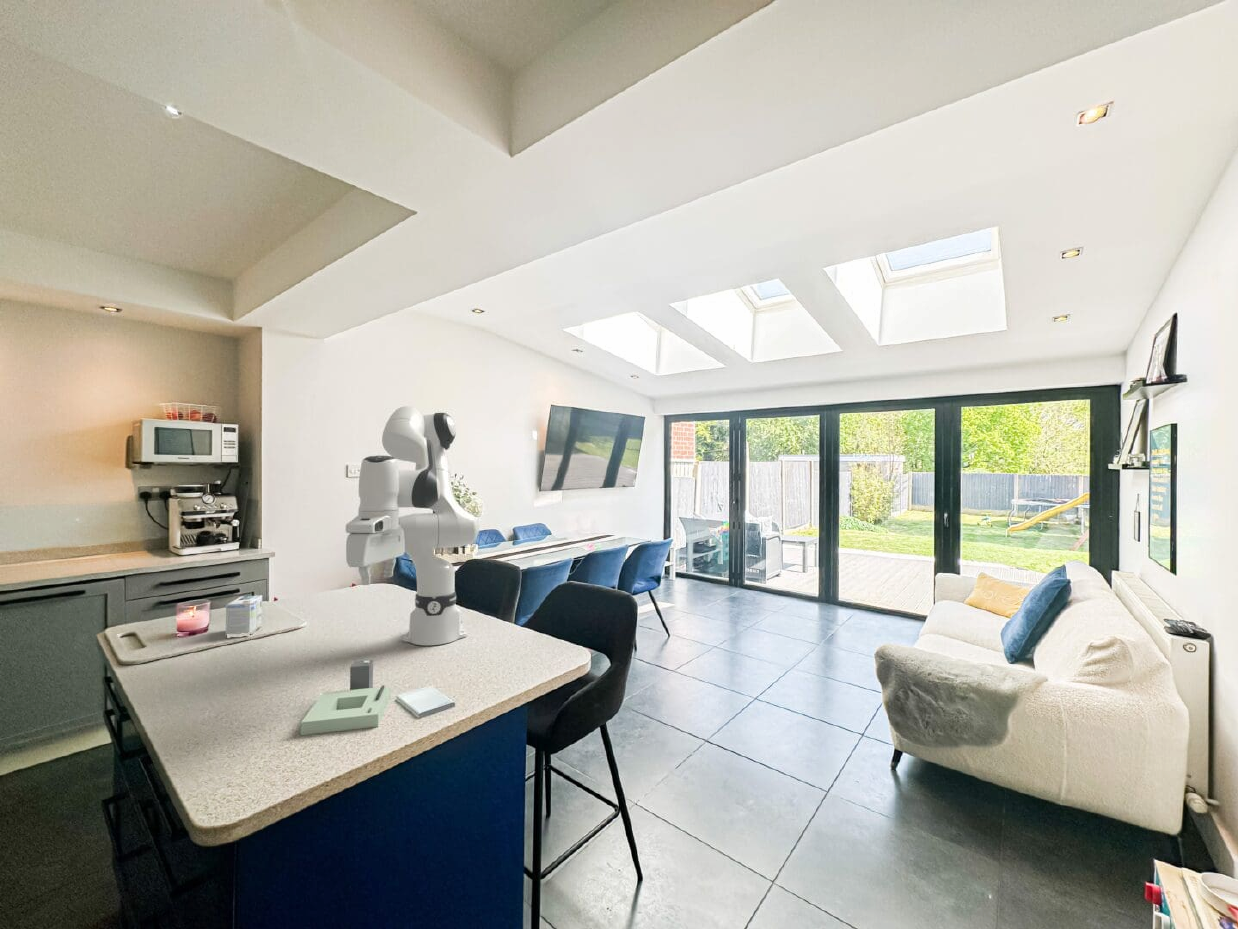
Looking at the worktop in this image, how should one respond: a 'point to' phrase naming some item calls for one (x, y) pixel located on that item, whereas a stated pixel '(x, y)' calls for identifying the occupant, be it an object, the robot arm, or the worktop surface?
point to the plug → (361, 674)
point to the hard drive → (425, 701)
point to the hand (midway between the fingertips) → (378, 580)
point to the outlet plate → (347, 710)
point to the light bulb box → (243, 614)
